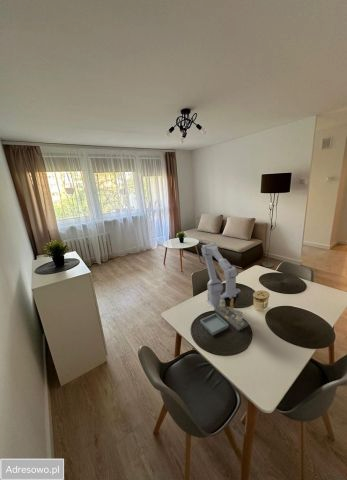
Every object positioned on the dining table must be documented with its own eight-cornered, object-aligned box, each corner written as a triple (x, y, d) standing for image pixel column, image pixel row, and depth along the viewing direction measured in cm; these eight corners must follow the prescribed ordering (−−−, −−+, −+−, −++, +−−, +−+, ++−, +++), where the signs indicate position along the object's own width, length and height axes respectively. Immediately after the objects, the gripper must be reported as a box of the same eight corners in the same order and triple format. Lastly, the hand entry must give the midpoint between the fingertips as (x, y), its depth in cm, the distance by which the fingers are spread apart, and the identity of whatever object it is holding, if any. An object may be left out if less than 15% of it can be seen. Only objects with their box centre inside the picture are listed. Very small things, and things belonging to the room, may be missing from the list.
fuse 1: (218, 308, 128) (218, 299, 126) (222, 306, 129) (222, 298, 127) (222, 311, 125) (222, 302, 123) (226, 309, 126) (226, 300, 124)
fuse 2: (234, 322, 115) (235, 312, 113) (239, 319, 116) (239, 310, 114) (239, 325, 112) (239, 315, 110) (243, 323, 113) (243, 313, 111)
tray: (200, 323, 118) (200, 320, 117) (215, 316, 123) (215, 313, 122) (212, 336, 108) (212, 332, 107) (228, 327, 113) (228, 324, 112)
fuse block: (214, 310, 129) (214, 306, 128) (223, 306, 132) (223, 302, 131) (238, 331, 110) (238, 326, 109) (248, 325, 113) (248, 321, 112)
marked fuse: (226, 306, 119) (226, 297, 117) (230, 304, 121) (230, 295, 119) (230, 309, 116) (230, 300, 114) (234, 307, 118) (234, 298, 116)
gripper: (226, 293, 108) (225, 312, 112) (244, 285, 114) (243, 304, 118) (217, 287, 114) (218, 306, 118) (235, 280, 120) (235, 298, 124)
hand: (230, 305), depth 118 cm, fingers closed on marked fuse, 3 cm apart
